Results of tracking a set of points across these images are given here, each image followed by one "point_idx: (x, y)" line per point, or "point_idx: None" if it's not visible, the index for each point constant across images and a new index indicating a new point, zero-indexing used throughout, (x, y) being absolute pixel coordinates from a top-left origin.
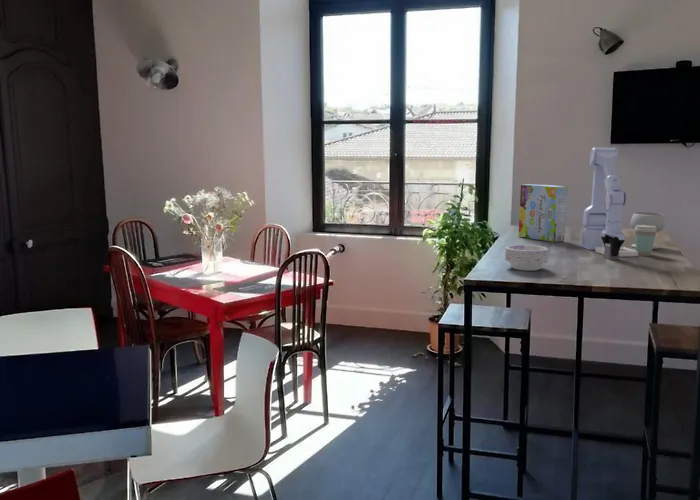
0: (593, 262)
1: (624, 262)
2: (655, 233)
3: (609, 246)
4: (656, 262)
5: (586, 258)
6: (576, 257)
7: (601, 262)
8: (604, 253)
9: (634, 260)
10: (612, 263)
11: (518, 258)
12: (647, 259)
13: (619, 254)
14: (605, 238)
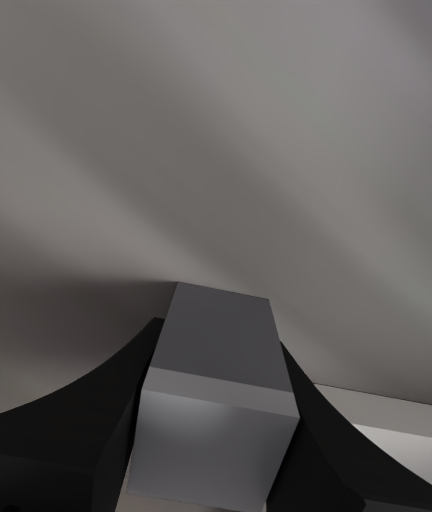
0: (75, 4)
1: (42, 318)
2: None
3: (164, 371)
4: None
5: (315, 109)
6: (422, 22)
7: (64, 109)
8: (270, 323)
9: None
10: (2, 186)
11: None
12: (128, 506)
13: None
14: (326, 507)
